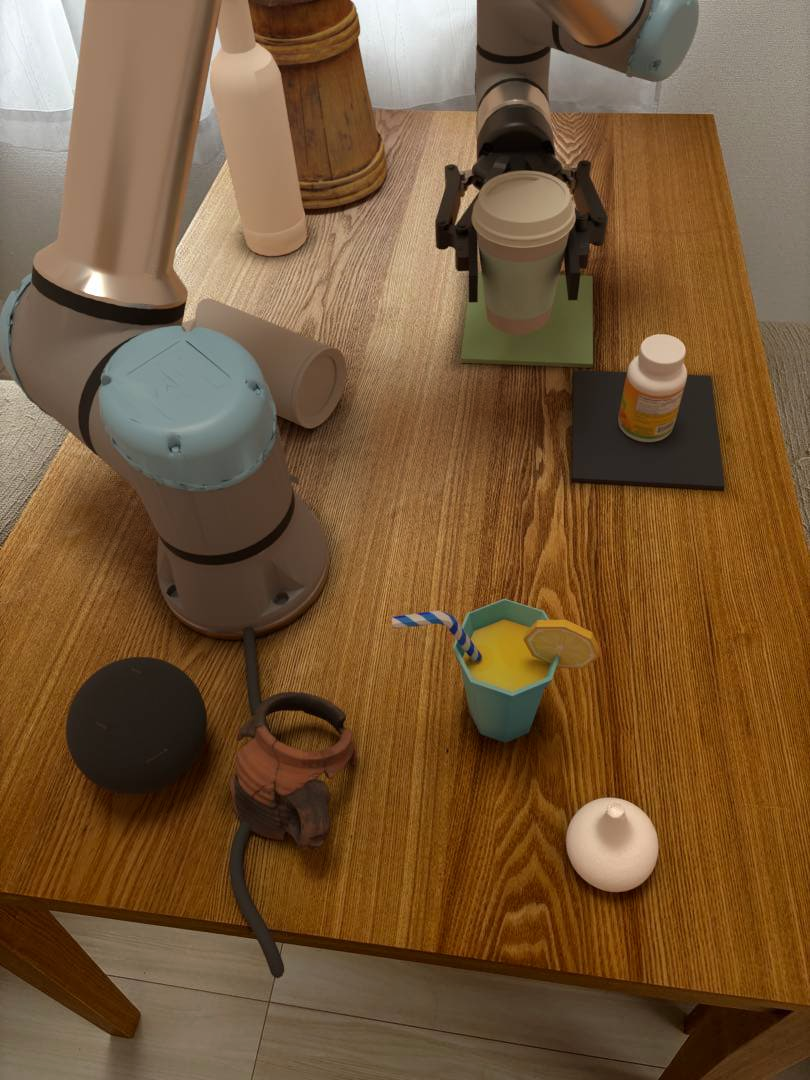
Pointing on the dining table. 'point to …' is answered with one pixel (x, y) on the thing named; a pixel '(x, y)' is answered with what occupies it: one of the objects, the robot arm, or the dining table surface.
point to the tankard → (324, 97)
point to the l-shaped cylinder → (282, 361)
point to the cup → (509, 660)
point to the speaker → (136, 725)
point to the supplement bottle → (653, 389)
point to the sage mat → (535, 333)
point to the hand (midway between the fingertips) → (523, 287)
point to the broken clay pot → (288, 773)
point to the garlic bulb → (612, 844)
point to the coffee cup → (522, 246)
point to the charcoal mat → (626, 461)
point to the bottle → (256, 136)
